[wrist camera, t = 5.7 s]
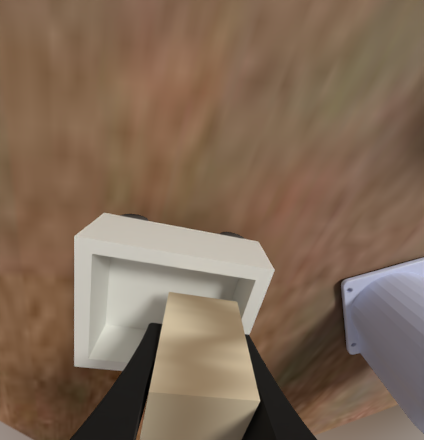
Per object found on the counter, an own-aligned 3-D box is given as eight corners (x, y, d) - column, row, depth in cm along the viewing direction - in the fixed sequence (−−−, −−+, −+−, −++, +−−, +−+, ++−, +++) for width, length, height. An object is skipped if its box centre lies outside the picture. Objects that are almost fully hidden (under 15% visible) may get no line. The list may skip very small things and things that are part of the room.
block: (237, 301, 12) (260, 400, 8) (220, 349, 14) (232, 458, 9) (168, 291, 12) (149, 391, 7) (158, 342, 13) (136, 454, 8)
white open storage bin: (251, 229, 16) (274, 270, 11) (223, 318, 19) (231, 381, 14) (116, 203, 15) (74, 236, 10) (108, 303, 18) (74, 366, 13)
